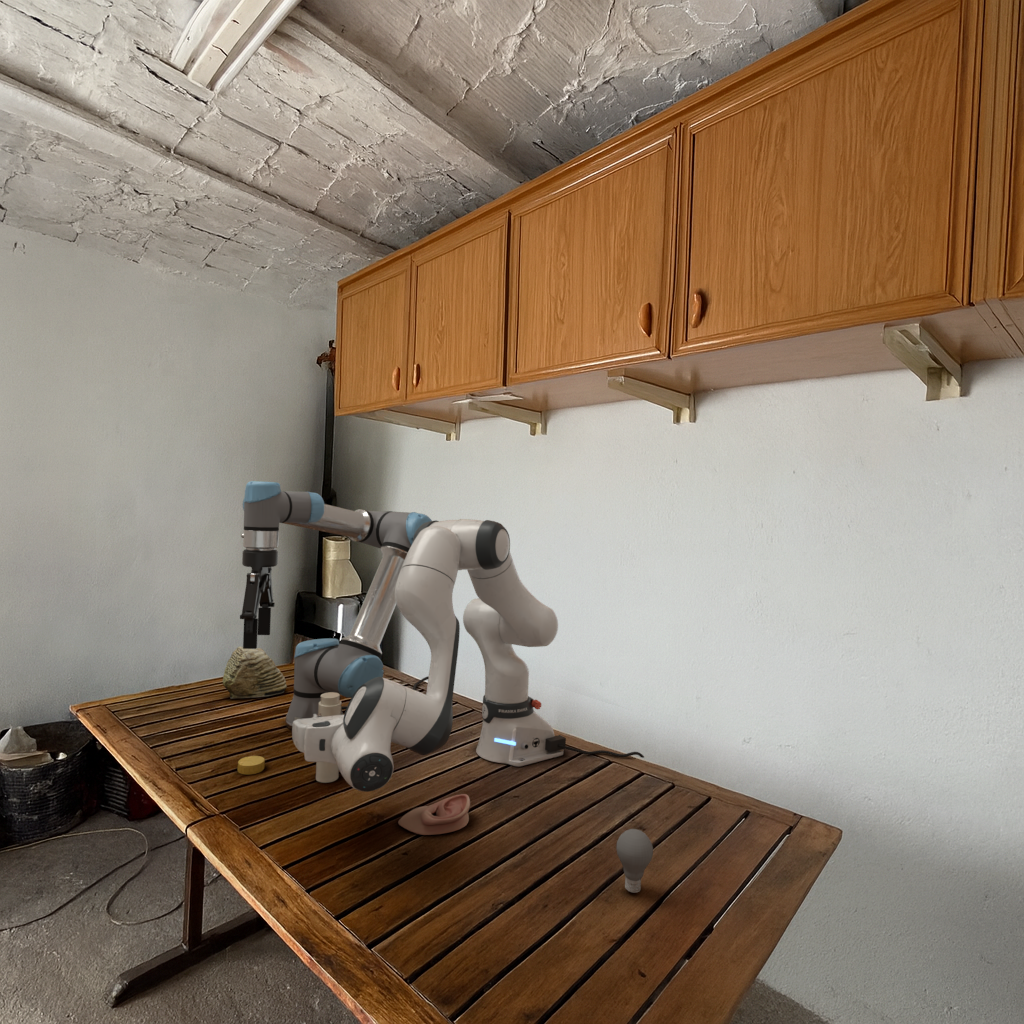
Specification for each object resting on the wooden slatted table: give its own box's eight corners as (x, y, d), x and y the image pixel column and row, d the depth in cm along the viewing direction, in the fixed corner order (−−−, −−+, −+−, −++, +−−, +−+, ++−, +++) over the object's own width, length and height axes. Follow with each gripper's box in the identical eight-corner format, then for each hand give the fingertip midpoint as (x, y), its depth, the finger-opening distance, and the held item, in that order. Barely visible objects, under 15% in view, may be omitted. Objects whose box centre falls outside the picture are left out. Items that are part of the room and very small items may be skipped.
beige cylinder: (337, 772, 146) (340, 690, 146) (339, 781, 141) (343, 697, 141) (314, 774, 144) (318, 692, 144) (316, 784, 140) (319, 699, 139)
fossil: (218, 695, 195) (220, 647, 195) (278, 685, 208) (279, 640, 207) (228, 703, 189) (230, 653, 188) (289, 692, 201) (290, 645, 201)
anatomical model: (392, 810, 121) (414, 784, 132) (391, 830, 121) (413, 803, 132) (459, 820, 118) (475, 792, 130) (458, 841, 118) (474, 812, 130)
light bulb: (610, 879, 108) (613, 822, 108) (644, 879, 109) (647, 822, 109) (619, 902, 102) (622, 840, 102) (655, 901, 103) (658, 840, 103)
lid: (231, 771, 144) (232, 762, 144) (252, 762, 149) (252, 753, 149) (249, 776, 142) (250, 768, 142) (270, 767, 147) (270, 759, 147)
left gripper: (256, 544, 156) (252, 629, 157) (227, 553, 132) (224, 654, 132) (287, 545, 158) (284, 630, 158) (265, 554, 133) (262, 654, 133)
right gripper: (408, 716, 123) (390, 695, 136) (297, 728, 114) (289, 704, 127) (406, 748, 123) (389, 724, 136) (296, 762, 114) (288, 735, 127)
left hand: (257, 641), depth 145 cm, fingers open, 13 cm apart
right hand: (340, 715), depth 131 cm, fingers open, 8 cm apart
